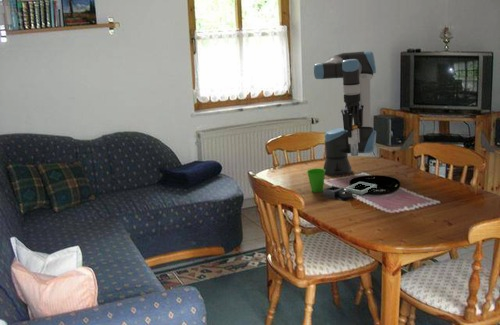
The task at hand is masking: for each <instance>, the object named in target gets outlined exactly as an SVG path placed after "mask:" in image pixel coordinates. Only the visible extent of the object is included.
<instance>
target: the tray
mask: <svg viewBox="0 0 500 325" xmlns="http://www.w3.org/2000/svg"><path fill="white" fill-rule="evenodd" d="M358 184H362V185H365V186H364V187H366V186H370V187H366V188H364V189H361V190H360V189H355V186H356V185H358ZM371 188H376V189H377V188H378V184H376V183H369V182H365V181H358V182H356V183H353V184H350V185H348V186H346V187H345V188H344V189H348V191H352V192H353V194H355V195H356V194H357V195H361V196H362V195H364V194H366V193H368V190H369V189H371Z"/></svg>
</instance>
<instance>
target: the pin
mask: <svg viewBox="0 0 500 325" xmlns="http://www.w3.org/2000/svg"><path fill="white" fill-rule="evenodd" d="M357 128H358V126H357V125H354V124H353V125H352V130H353V131H354V144H350V145H351V153H350V156H352V157H356V156H359V153H358V137H357Z"/></svg>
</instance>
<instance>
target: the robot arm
mask: <svg viewBox="0 0 500 325" xmlns="http://www.w3.org/2000/svg"><path fill="white" fill-rule="evenodd" d="M376 69H377V68H376V62H375V56H374V53H373V52H372V51H366V50H363V51H353V52H342V53H341V52H340V53H339V54H336V55H333V56H331V57H329V58H328V59H327V61H326V62H317V63H315V64H314V65H313V76H314V78H315V79H316V80H327V79H328V80H329V79H342V85H343V102H344V103H345V106H344V109H341V110H340V112H341V114H342V121H343V122H342V123H343V128H342V127H341V128H340V127H338V128H334V129H330V130H328V131H326V132H325V133H324V150H325V151H324V152H325V160H324V165H323V168H322V169H325V175H326V176H330V177H342V176H343V177H344V176H347V175H350V174H351V173H352V172H353V171H352V170H353V168H352V166H351V163H350V161H349V156H348V154H351V145H350V144H354V131H353V130H352V125H357V126H358V128H357V137H358V154H365V155H366V154H371V153H373V152H374V151H375V149H376V148H375V147H376V143H377V142H376V141H377V131H376V130H374V126H373V125H372V124H371V80H372V79H373V78H374V74H376V73H377V70H376Z"/></svg>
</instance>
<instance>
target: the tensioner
mask: <svg viewBox="0 0 500 325" xmlns="http://www.w3.org/2000/svg"><path fill="white" fill-rule="evenodd" d="M320 197H325V198H328V199H334V200H338V201H341V202H342V201H343V202H347V201H350V200H351V199H354V198H357V195H356V194H354V193H353V192H352V191H348V189H345V188H344V187H341V186H337V185H333V184H332V185H330V186H328V187H325V188H323V191H322V194H321V195H320Z"/></svg>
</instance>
